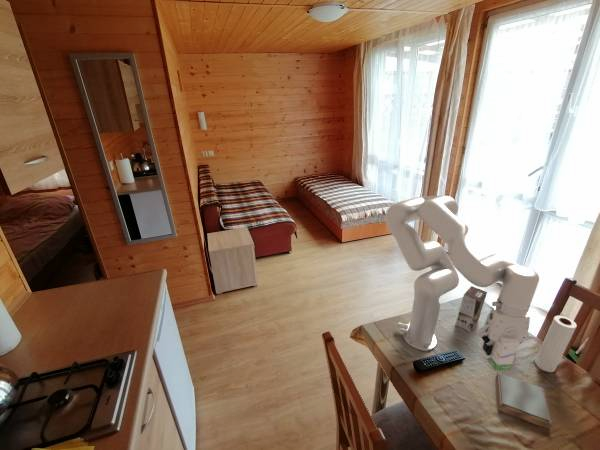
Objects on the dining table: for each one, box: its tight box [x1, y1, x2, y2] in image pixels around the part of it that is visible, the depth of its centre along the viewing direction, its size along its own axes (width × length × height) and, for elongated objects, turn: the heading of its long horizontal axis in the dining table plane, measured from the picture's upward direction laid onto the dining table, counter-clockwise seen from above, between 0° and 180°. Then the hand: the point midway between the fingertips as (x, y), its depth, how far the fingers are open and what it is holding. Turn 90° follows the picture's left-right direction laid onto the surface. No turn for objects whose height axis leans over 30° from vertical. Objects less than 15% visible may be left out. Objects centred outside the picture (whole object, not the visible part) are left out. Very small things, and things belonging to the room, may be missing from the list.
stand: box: [495, 372, 552, 430], centre depth 97 cm, size 13×13×3 cm
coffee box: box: [455, 285, 488, 333], centre depth 126 cm, size 9×6×16 cm
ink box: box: [480, 332, 520, 372], centre depth 92 cm, size 8×5×12 cm, turn 0°
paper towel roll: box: [534, 311, 577, 373], centre depth 105 cm, size 7×6×21 cm
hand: (496, 352), depth 94 cm, fingers closed on ink box, 5 cm apart
